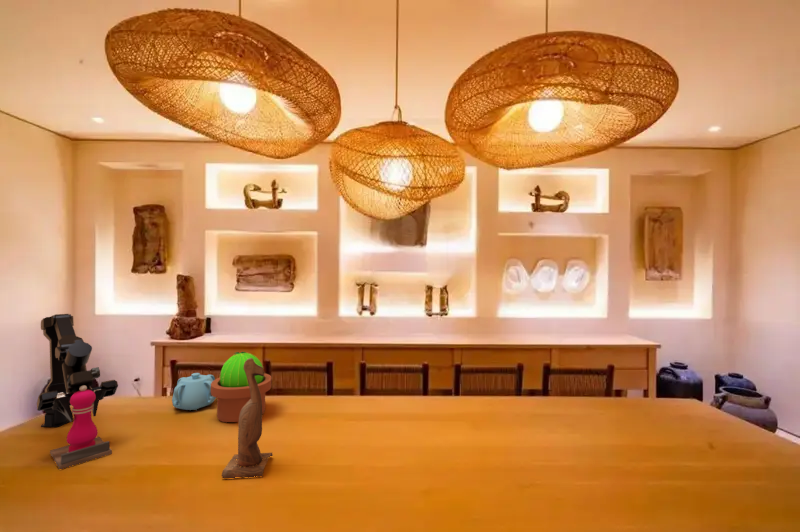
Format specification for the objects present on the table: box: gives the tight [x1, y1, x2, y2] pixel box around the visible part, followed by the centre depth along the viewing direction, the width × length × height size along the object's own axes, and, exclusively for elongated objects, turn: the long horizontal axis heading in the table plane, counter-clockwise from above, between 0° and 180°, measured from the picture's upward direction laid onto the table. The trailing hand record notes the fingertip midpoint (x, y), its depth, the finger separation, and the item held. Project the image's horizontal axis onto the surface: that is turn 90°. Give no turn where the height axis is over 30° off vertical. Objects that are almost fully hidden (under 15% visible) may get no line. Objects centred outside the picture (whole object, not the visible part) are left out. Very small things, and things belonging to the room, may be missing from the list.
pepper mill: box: [66, 385, 99, 452], centre depth 113 cm, size 7×7×20 cm
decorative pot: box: [171, 372, 217, 411], centre depth 154 cm, size 16×16×14 cm
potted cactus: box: [211, 351, 272, 423], centre depth 146 cm, size 22×22×25 cm
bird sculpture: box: [221, 358, 274, 479], centre depth 107 cm, size 11×12×32 cm
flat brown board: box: [49, 436, 113, 470], centre depth 114 cm, size 14×12×4 cm
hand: (83, 418), depth 112 cm, fingers closed on pepper mill, 5 cm apart
